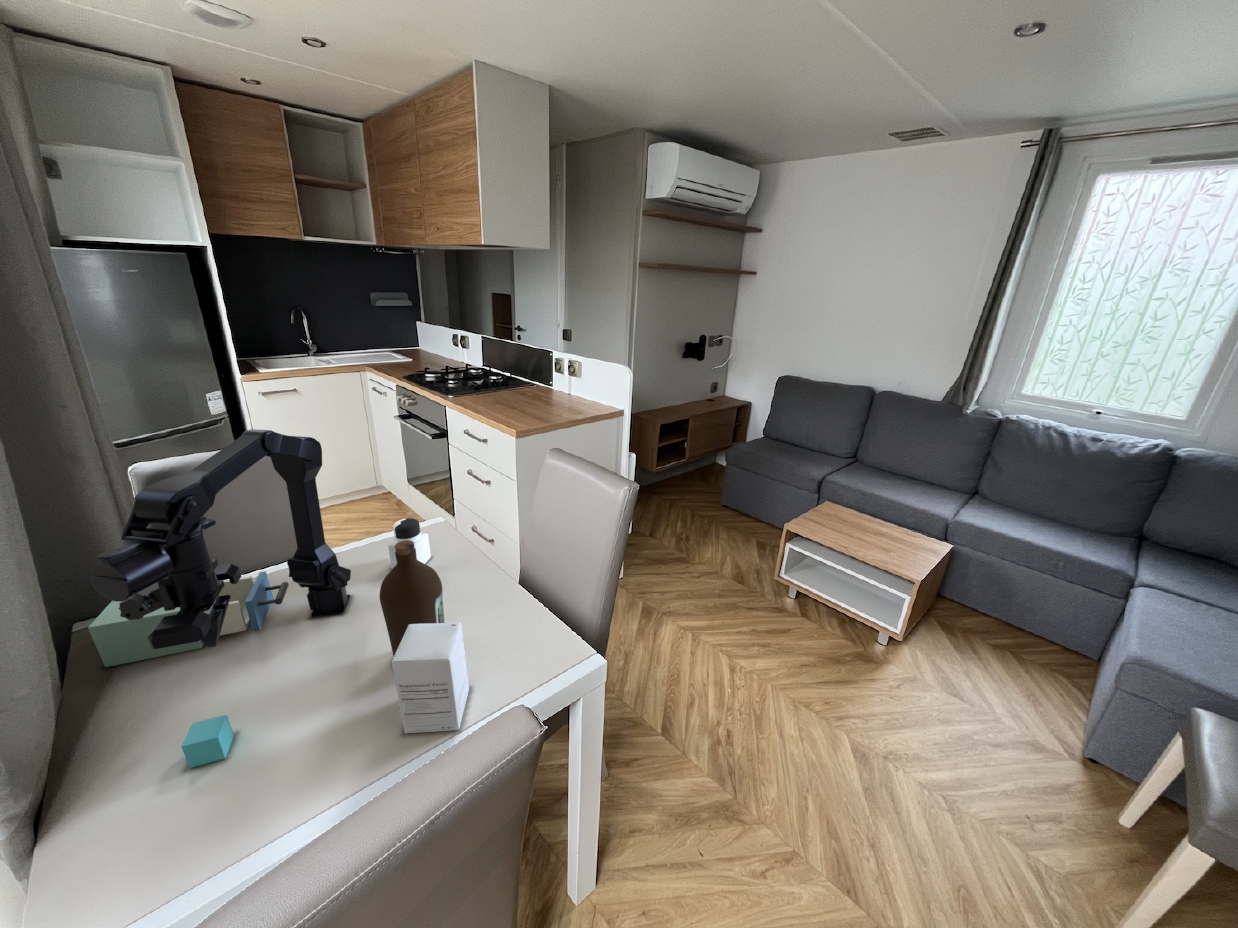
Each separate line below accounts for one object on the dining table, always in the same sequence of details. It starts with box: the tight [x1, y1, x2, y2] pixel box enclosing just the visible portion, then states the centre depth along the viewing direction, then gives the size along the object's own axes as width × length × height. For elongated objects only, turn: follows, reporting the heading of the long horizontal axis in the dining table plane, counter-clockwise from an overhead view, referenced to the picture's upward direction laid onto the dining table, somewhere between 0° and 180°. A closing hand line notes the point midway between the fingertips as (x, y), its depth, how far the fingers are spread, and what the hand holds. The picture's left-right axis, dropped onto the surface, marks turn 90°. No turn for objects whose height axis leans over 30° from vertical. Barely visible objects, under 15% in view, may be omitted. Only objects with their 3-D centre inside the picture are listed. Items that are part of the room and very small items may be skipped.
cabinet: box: [87, 600, 205, 668], centre depth 98 cm, size 15×13×9 cm
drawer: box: [220, 570, 290, 636], centre depth 102 cm, size 18×11×7 cm, turn 112°
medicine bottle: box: [387, 517, 432, 570], centre depth 125 cm, size 7×7×12 cm
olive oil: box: [379, 540, 445, 658], centre depth 91 cm, size 11×11×25 cm
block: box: [181, 714, 235, 769], centre depth 75 cm, size 4×4×4 cm
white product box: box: [391, 621, 470, 734], centre depth 81 cm, size 9×9×15 cm
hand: (212, 645), depth 81 cm, fingers closed
